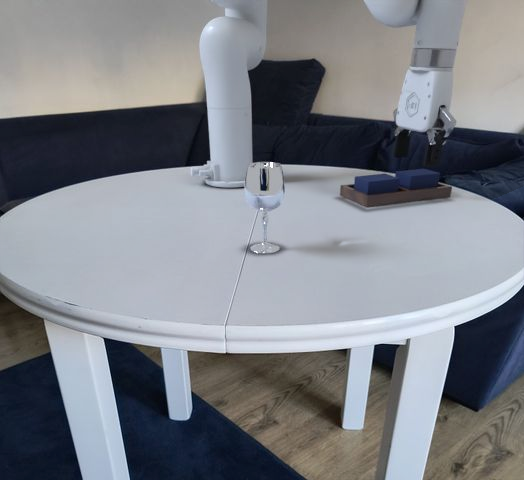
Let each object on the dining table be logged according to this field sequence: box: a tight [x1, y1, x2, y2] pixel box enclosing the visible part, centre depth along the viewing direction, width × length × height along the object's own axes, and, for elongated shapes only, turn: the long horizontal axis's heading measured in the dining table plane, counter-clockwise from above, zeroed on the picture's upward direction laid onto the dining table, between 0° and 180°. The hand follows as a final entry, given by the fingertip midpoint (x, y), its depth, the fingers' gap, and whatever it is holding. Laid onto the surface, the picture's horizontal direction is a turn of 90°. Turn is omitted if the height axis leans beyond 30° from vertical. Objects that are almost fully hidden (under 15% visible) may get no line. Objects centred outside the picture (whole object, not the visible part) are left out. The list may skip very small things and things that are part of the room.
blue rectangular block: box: [394, 168, 441, 190], centre depth 98 cm, size 7×5×4 cm
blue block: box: [353, 173, 400, 195], centre depth 95 cm, size 7×5×4 cm
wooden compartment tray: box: [339, 181, 453, 208], centre depth 97 cm, size 10×19×3 cm, turn 112°
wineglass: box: [243, 161, 286, 255], centre depth 70 cm, size 6×6×12 cm
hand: (414, 161), depth 96 cm, fingers open, 9 cm apart
